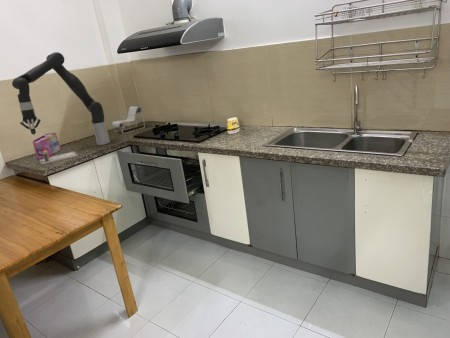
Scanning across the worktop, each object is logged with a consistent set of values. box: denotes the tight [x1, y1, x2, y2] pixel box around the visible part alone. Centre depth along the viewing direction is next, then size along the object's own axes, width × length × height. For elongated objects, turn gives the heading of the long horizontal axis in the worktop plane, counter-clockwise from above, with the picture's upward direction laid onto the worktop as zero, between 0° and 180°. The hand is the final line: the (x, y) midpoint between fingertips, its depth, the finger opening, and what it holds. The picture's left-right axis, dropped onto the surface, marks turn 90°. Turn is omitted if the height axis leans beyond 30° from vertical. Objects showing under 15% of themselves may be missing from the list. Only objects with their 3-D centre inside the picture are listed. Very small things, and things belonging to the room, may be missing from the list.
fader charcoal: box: [43, 153, 49, 161], centre depth 244 cm, size 2×4×5 cm
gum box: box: [32, 132, 61, 160], centre depth 265 cm, size 24×8×14 cm, turn 0°
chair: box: [111, 105, 146, 135], centre depth 313 cm, size 13×25×20 cm, turn 135°
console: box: [39, 150, 78, 165], centre depth 252 cm, size 24×12×2 cm, turn 121°
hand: (33, 134), depth 240 cm, fingers closed
